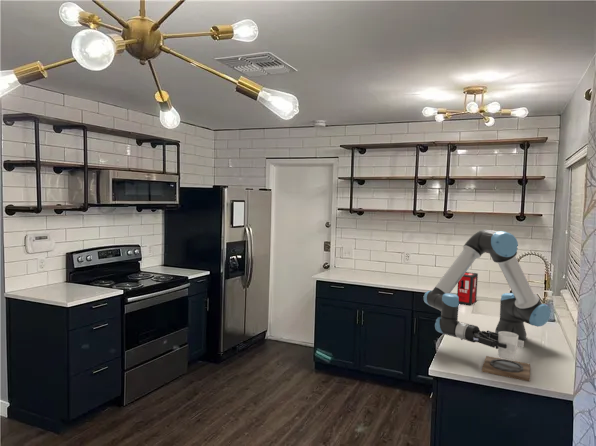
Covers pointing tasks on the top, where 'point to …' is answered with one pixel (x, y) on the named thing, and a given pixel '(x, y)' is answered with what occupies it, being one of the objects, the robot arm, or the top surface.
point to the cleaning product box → (467, 289)
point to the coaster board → (506, 368)
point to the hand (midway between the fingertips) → (519, 346)
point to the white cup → (508, 338)
